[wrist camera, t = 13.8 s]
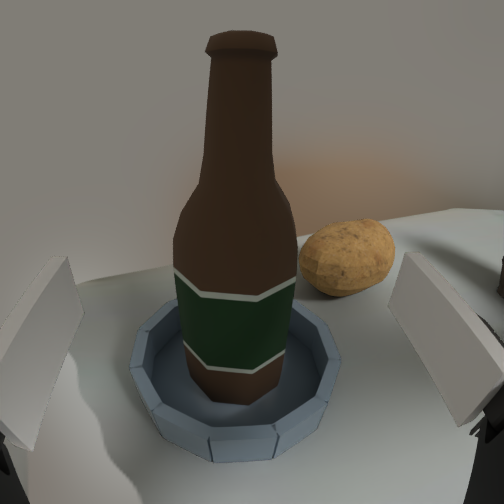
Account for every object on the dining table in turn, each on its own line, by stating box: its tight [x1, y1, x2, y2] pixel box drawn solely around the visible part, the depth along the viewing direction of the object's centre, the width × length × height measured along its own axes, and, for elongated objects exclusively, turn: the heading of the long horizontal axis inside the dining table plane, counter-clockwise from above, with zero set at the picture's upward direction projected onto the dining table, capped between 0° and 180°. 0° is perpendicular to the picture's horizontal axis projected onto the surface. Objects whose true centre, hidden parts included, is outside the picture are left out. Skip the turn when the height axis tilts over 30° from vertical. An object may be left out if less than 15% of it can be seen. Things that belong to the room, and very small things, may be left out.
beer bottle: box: [173, 31, 298, 405], centre depth 19 cm, size 8×8×24 cm
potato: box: [299, 219, 395, 297], centre depth 36 cm, size 10×14×8 cm
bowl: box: [129, 299, 341, 463], centre depth 24 cm, size 16×16×4 cm
